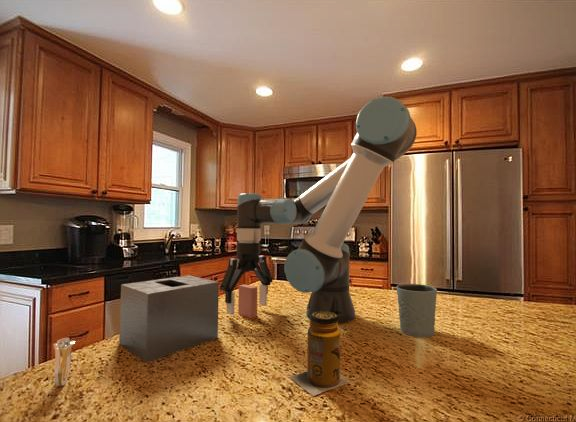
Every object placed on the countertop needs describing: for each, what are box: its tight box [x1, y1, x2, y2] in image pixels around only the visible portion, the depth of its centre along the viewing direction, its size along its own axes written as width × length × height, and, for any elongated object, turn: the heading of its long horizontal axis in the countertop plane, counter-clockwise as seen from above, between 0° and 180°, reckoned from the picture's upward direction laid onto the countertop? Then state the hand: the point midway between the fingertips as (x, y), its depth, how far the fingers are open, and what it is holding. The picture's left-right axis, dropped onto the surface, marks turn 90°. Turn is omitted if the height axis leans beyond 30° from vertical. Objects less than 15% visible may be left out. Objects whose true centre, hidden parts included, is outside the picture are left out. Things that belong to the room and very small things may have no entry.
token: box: [237, 284, 258, 319], centre depth 96 cm, size 6×2×9 cm, turn 49°
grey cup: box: [396, 283, 438, 338], centre depth 83 cm, size 10×10×12 cm
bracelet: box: [53, 337, 76, 387], centre depth 54 cm, size 7×3×8 cm, turn 22°
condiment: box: [289, 311, 350, 397], centre depth 56 cm, size 7×8×12 cm
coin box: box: [118, 274, 220, 363], centre depth 74 cm, size 14×18×14 cm
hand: (247, 309), depth 96 cm, fingers open, 13 cm apart
